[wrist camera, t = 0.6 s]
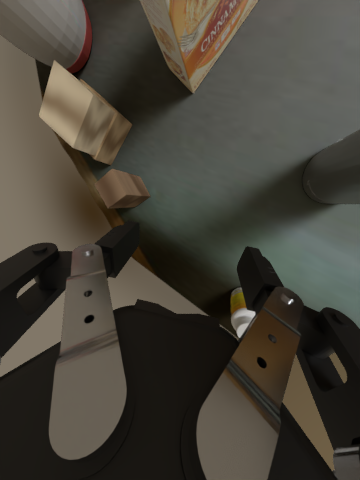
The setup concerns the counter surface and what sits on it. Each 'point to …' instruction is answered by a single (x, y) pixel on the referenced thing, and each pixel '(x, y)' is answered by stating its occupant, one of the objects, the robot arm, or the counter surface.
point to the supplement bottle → (240, 312)
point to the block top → (75, 111)
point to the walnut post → (121, 189)
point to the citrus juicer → (48, 30)
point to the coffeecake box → (194, 33)
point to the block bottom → (111, 134)
